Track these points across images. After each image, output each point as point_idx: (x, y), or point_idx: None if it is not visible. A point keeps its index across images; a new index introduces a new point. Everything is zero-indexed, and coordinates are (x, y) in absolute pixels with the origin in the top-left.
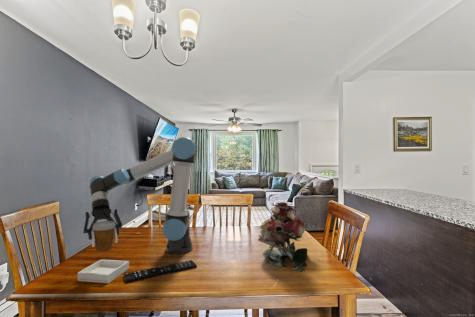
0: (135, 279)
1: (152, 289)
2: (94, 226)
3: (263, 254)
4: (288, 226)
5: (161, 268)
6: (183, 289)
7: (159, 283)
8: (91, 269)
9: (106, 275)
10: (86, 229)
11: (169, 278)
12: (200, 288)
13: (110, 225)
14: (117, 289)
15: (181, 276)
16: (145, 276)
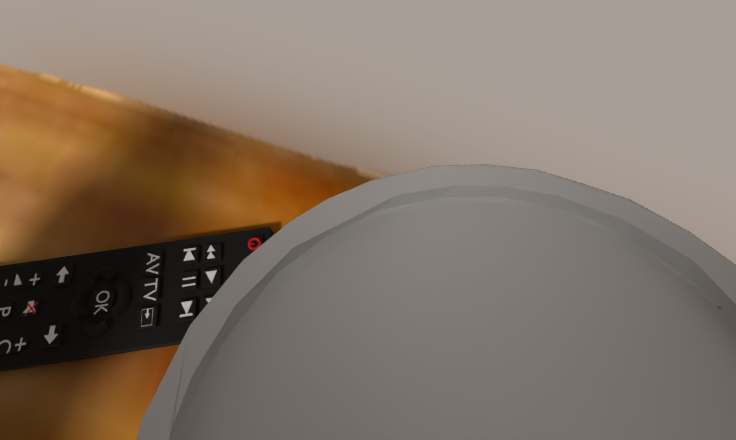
0: (221, 235)
1: (170, 135)
2: (720, 277)
3: None
4: None
5: (49, 320)
6: (61, 99)
7: (127, 175)
8: None
9: None
10: None
11: (65, 208)
12: (2, 86)
13: (279, 240)
14: (311, 183)
15: (5, 209)
16: (166, 242)
